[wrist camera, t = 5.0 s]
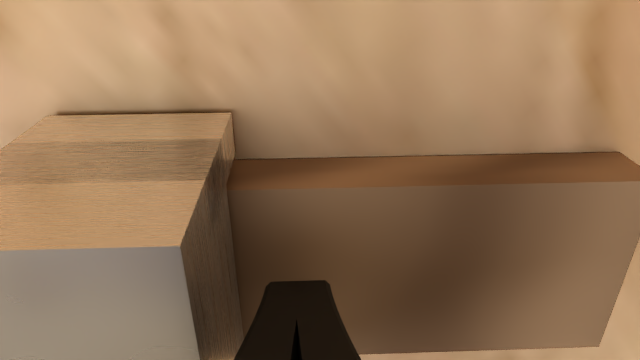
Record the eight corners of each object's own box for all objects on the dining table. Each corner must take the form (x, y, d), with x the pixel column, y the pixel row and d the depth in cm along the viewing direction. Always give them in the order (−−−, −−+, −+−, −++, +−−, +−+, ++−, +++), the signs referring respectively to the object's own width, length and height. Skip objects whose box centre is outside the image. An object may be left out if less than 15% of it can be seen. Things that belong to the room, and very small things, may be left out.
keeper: (231, 112, 10) (179, 246, 6) (255, 356, 14) (234, 553, 10) (47, 115, 10) (-143, 254, 6) (118, 361, 14) (33, 562, 9)
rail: (638, 92, 11) (958, 246, 6) (558, 343, 15) (705, 579, 9) (-260, 108, 10) (-855, 296, 5) (-105, 365, 14) (-350, 628, 9)
